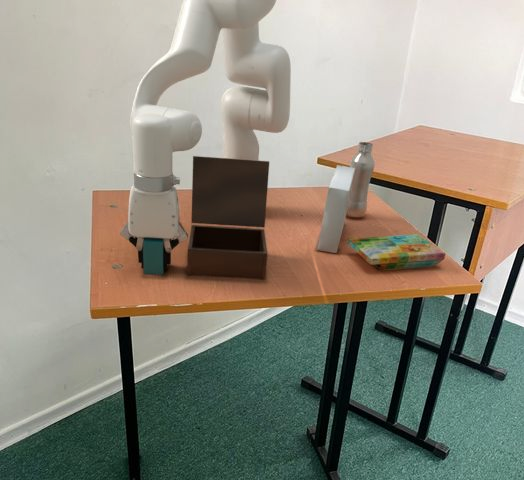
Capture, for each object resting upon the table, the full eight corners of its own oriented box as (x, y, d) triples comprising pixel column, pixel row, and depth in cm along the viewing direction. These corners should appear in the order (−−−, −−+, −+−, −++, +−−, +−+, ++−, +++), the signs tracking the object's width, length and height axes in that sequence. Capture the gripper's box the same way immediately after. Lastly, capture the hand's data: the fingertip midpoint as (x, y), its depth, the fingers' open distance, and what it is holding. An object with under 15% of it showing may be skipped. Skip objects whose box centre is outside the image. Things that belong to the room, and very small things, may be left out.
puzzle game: (446, 250, 138) (370, 255, 132) (441, 268, 140) (367, 274, 134) (420, 231, 147) (348, 235, 141) (416, 249, 150) (345, 253, 143)
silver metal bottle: (342, 210, 170) (353, 139, 159) (365, 214, 169) (378, 142, 158) (340, 218, 164) (352, 144, 153) (364, 221, 163) (377, 148, 153)
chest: (264, 282, 126) (267, 253, 123) (187, 278, 125) (187, 248, 121) (261, 256, 138) (264, 229, 134) (190, 252, 136) (191, 224, 133)
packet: (163, 278, 124) (162, 242, 120) (143, 277, 124) (142, 241, 120) (165, 267, 129) (165, 232, 125) (147, 266, 129) (146, 231, 124)
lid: (269, 161, 128) (268, 159, 132) (193, 156, 127) (194, 154, 131) (264, 227, 134) (263, 223, 138) (191, 223, 132) (192, 219, 136)
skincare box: (338, 254, 142) (349, 190, 134) (316, 251, 143) (325, 186, 135) (345, 225, 160) (355, 166, 151) (326, 222, 161) (334, 163, 152)
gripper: (196, 178, 120) (194, 261, 130) (113, 173, 118) (117, 257, 128) (194, 190, 113) (193, 276, 123) (106, 184, 112) (112, 272, 122)
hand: (154, 265), depth 126 cm, fingers closed on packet, 4 cm apart
